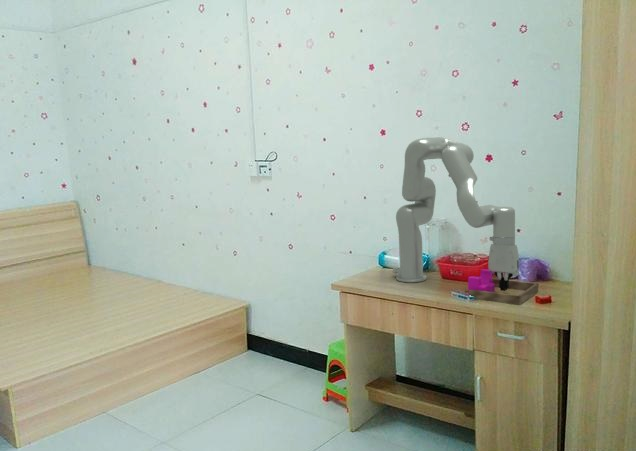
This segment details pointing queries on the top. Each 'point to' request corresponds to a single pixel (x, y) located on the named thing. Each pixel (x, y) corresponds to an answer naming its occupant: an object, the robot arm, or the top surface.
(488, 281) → the toy block
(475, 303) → the top surface
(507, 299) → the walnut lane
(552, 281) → the top surface
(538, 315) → the top surface
